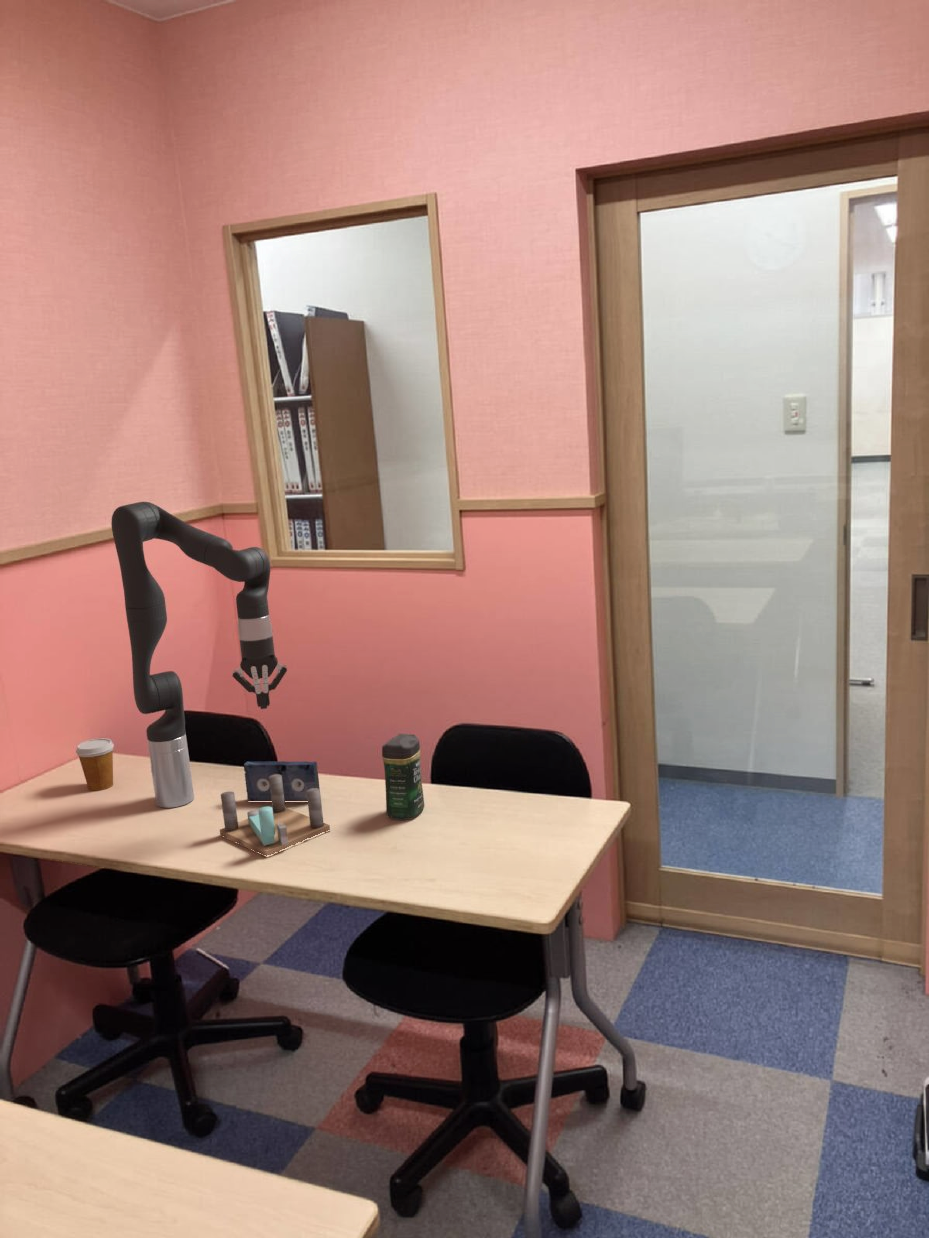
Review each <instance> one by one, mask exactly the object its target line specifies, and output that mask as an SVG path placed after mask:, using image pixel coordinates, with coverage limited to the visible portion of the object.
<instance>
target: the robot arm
mask: <svg viewBox="0 0 929 1238" xmlns="http://www.w3.org/2000/svg"><path fill="white" fill-rule="evenodd" d="M111 531H112V536H113V541H114V542H113V543H114V546H115V551H116V555H117V558H118V563H119V568H120V574H121V575H120V577H121V581H122V589H123V597H124V608H125V615H126V621H127V629H128V633H129V634H128V635H129V640H130V641H129V642H130V650H131V663H132V683H133V684H132V685H133V695H134V702H135V705H136V708H137V709H138V711H139V712H140V713H141V714H142V715H148V714H153V713H154V714H155V713H159V712H162V711H164V712H163V714H162V715H161V716H159V718H157V719H156V720H155V721H153V722H152V723H150V724H149V725H148V726H147V728H146V730H145V731H146V739H147V746H148V752H149V760H150V770H151V776H152V777H151V778H152V785H153V791H154V796H155V797H154V798H155V801H156V805H157V807H160V808H164V809H165V808H169V809H170V808H177V807H181V806H185V805H187V804H189V803H191V802H192V801H193V800H194V799H195V793H194V786H193V779H192V771H191V762H190V755H189V748H188V740H187V735H186V727H185V726H186V719H185V709H184V697H183V696H184V695H183V694H184V693H183V687H182V683H181V680H180V677H179V675H178V674H177V673H176V672H175V671H173V670H168V671H163V672H157V673H154V674H151V664H152V658H153V656H154V653H155V650H156V648H157V646H158V644H159V642H160V640H161V638H162V636H163V634H164V632H165V630H166V626H167V622H168V614H167V608H166V607H167V605H166V598H165V593H164V592H163V590H162V587H161V586H160V585H159V583H158V581H157V580H156V578H155V577H154V576H153V574H152V572H151V571H150V570H149V568H148V565H147V563H146V559H145V553H144V551H145V550H144V542H148V541H152V540H154V539H156V540H160V541H161V540H162V541H166V542H169V543H172V544H174V545H176V546H177V547H178V548H179V549H180V550H181V552H183V554H184V555H185V556H187V557H188V558H190V559H191V560H194V561H196V562H198V563H201V564H204V565H206V566H208V567H211V568H214V569H215V571H217V572H218V573H220V574H221V575H223V576H224V577H225V578H226V579H229V580H231V581H233V582H237V583H244V585H243V589H242V590H240V591H239V592H238V593H237V594H236V596H235V604H236V612H237V613H236V614H237V628H238V629H237V632H238V639H239V647H240V648H239V649H240V657H241V661H240V664H239V667H238V668H237V669H235V670H233V672H232V678H233V679H235V681H237V682H238V683H239V684H240V685H241V687H243V688H244V689H245V690H246V691H247V692H248V693H252V694H253V693H254V694H255V695H256V697H255V698H256V704H257V706H258V708H260V710H265V709H268V707H269V706H270V704H271V701H270V692H271V691H272V690H273V691H274V690H276V688H277V686H278V685H279V684H280V682H281V680H283V678H284V676H285V675H286V674H287V672H288V667H287V665H286V664H281V663H279V661H278V658H277V657H276V653H275V644H274V637H273V632H274V631H273V627H272V626H273V625H272V620H271V618H270V617H271V616H270V609H269V602H268V593H269V588H270V577H271V561H270V559H269V556H268V553H266V552H265V551H264V550H263V548H261V547H258V546H251V547H247V548H244V549H241V550H237V549H234V548H233V545H232V544H231V543H230V541H228V540H227V539H225V538H222V537H220V536H217V535H214V534H212V533H210V532H207V531H204V530H202V529H200V528H197V527H195V526H193V525H191V524H189V523H187V522H185V521H184V520H182V519H180V518H178V517H177V516H175V515H173V514H171V513H170V512H168V511H166V510H165V509H163V508H162V507H160V506H158V504H157V505H156V504H154V503H152V502H151V501H150V502H149V501H138V502H134V503H128V504H125V505H121V506H118V507H117V508H116V509H114V511H113V512H112V516H111ZM275 670H276V675H275V676H274V678H273V680H272V681H271V683H269V677H271V676H272V675H273V672H274V671H275ZM245 674H246V675H247V676H248V677H249V678H250V679H251V680H253V684H252V683H251V682H249V680H247V679H246V677H244V676H245ZM260 679H262V686H261V680H260Z"/></svg>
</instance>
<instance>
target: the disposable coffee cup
mask: <svg viewBox="0 0 929 1238" xmlns="http://www.w3.org/2000/svg"><path fill="white" fill-rule="evenodd" d="M76 746H77V747H76V750H75V753H76V755H77V756H78V758H79V762H80V765H81V769H82V772H83V775H84V779H85V782H86V785H87V788H88V790H89V791H96V792H98V791H103V790H107V789H110V788H111V787H113V785H114V757H113V756H114V753H113V752H114V747H115V743H113V741H112V739H110V738H106V737H105V738H103V737H102V738H93V739H88V740H84V741H82V742H80V743H79V744H78V745H76Z"/></svg>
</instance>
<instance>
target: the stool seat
mask: <svg viewBox="0 0 929 1238" xmlns="http://www.w3.org/2000/svg"><path fill="white" fill-rule="evenodd" d="M269 784H270V792H271V801H272V802H271V807H272V809H273V818H274V826H275V835H274V839H275V843H274V844H270V845H266V846H264V845H263V843H262V842H261V841H260V839H259V838H258V836H257V835H256V834H255V832H254V831H253V829H252V828H251V827H250V826H249V823H248V818H245V819H244V820H243V819H242V820H241V821H238V820H239V819H238V813H237V803H236V797H235V792H234V791H225V792H222V793H221V794H220V799H221V808H222V816H223V817H222V818H223V824H224V828H220V829H219V835H221V836H220V837H222V836H224V837H225V838H224V837H223V838H224V839H226V838H228V839H230V840H232V841H233V843H235V842H237V843H239V844H241V845H243V846H245V847H247V848H248V849H247V848H246V849H247V850H249V849H252V850H254V851H255V853H256V852H259V853H261V854H263V855H266V856H267V855H271V854H274V853H275V852H279V851H280V850H282V849H285V848H287V847H289V846H291V845H295V844H296V843H298V842H302V841H303V840H305V839H307V838H311V837H313V836H315V835H318V834H320V833H322V832H326V831H328V830H330V831H331V827H330V824H328V823H325V822H324V817H323V815H324V814H323V806H322V796H321V789H318V788H312V789H309V790H307V799H308V803H307V807H308V808H307V809H308V815H306V814H303V813H300V812H298V811H295V810H293V809H291V808H288V807H286V804H285V801H284V792H283V783H282V775H280V774H275V775H271V776H269ZM228 839H227V840H228ZM230 840H229V841H230ZM232 841H231V842H232ZM237 843H236V844H237ZM239 844H238V845H239ZM241 845H240V846H241ZM243 846H242V847H243ZM245 847H244V848H245ZM252 850H251V851H252ZM254 851H253V852H254Z"/></svg>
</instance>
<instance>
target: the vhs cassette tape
mask: <svg viewBox="0 0 929 1238" xmlns="http://www.w3.org/2000/svg"><path fill="white" fill-rule="evenodd" d="M243 770H244V781H245V787H246V795H247V797H246V798H247V802H248V801H271V792H270V784H269V776H271V775H275V774H280V775H282V783H283V792H284V801H308V799H307V790H309V789H312V788H318V789H320V781H319V771H318V761H269V760H268V761H246V762H245V763H244V764H243ZM320 790H321V789H320Z"/></svg>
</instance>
